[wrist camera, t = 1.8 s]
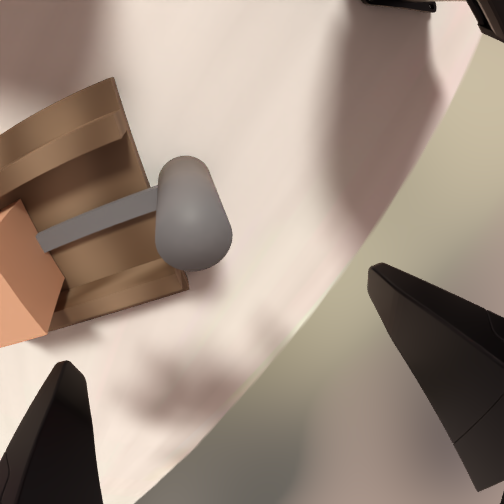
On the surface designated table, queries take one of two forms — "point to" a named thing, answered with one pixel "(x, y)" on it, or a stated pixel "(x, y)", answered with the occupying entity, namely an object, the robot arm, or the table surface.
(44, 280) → the tethered block
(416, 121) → the table surface
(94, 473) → the robot arm
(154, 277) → the wooden tray
